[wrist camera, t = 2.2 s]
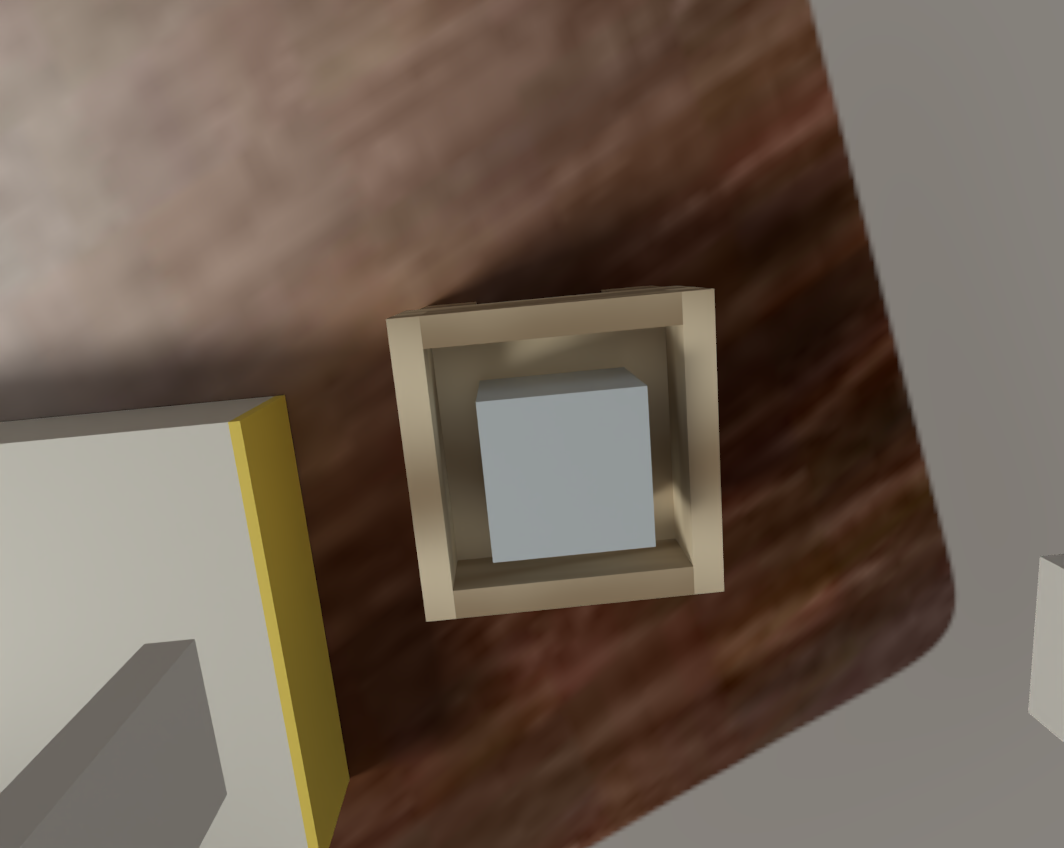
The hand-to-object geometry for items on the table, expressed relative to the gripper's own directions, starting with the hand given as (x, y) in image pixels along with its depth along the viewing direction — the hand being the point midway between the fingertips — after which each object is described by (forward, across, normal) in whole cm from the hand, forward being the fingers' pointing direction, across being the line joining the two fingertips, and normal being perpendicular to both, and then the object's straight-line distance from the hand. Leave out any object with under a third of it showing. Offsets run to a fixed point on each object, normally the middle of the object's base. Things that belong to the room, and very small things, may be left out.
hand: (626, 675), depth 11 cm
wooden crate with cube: (+19, 0, 0) cm, 19 cm away
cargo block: (+14, 0, 0) cm, 14 cm away
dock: (+19, -19, -7) cm, 27 cm away
